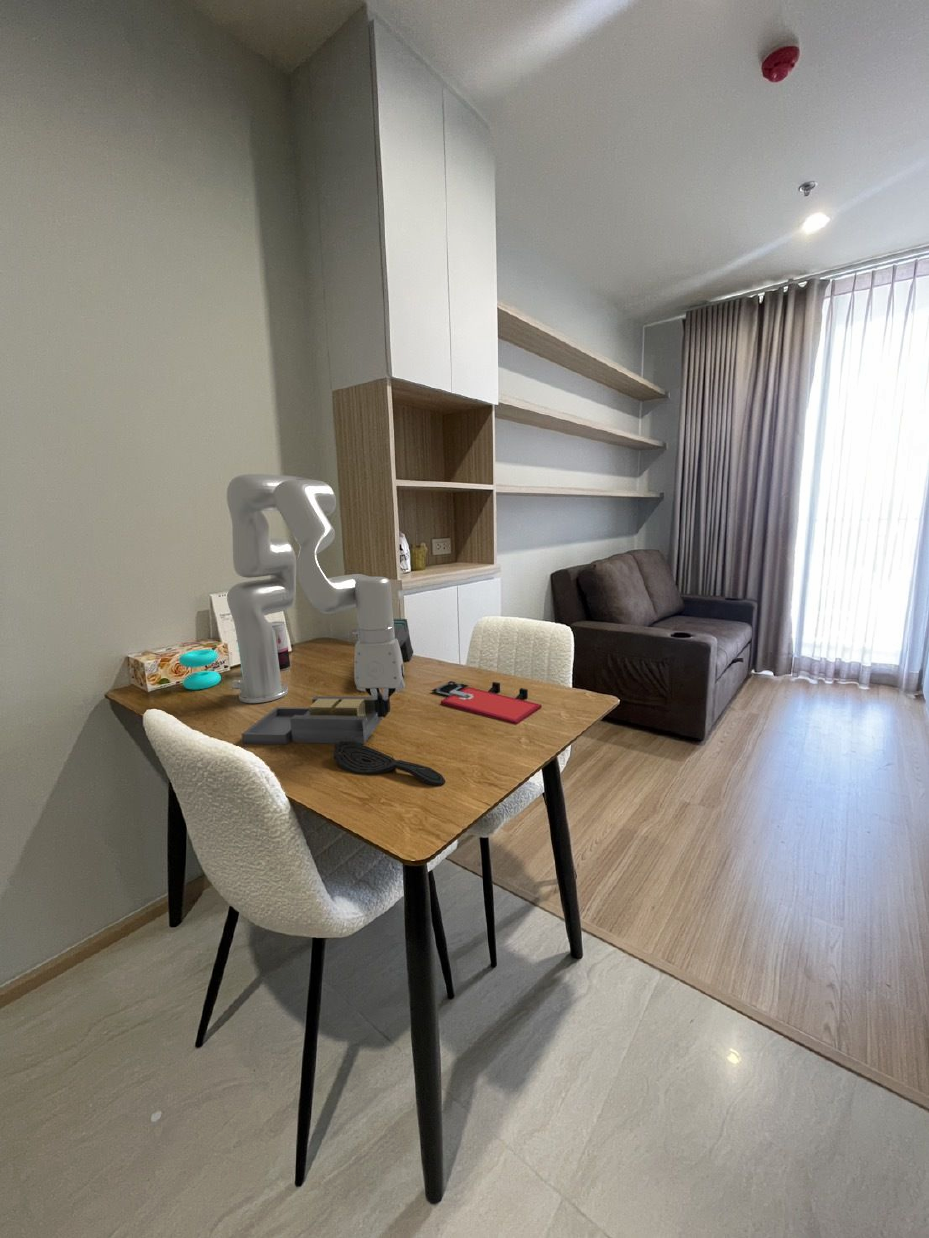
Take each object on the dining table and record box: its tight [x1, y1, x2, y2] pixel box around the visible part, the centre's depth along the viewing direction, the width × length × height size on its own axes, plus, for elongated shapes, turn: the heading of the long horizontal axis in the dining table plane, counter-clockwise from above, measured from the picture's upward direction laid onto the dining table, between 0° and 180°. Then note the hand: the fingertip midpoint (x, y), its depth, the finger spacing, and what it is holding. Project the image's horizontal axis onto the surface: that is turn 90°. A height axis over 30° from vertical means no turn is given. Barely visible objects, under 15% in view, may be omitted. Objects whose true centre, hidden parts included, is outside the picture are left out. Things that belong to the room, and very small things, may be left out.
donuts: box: [178, 649, 222, 691], centre depth 146 cm, size 10×10×10 cm
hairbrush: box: [333, 738, 446, 787], centre depth 93 cm, size 8×4×25 cm
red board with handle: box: [431, 680, 543, 725], centre depth 125 cm, size 30×3×15 cm
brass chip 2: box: [335, 699, 366, 716], centre depth 110 cm, size 5×5×4 cm
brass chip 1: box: [308, 699, 339, 716], centre depth 111 cm, size 5×5×4 cm
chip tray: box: [241, 706, 309, 745], centre depth 113 cm, size 10×15×2 cm, turn 173°
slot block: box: [290, 695, 383, 745], centre depth 111 cm, size 16×13×6 cm
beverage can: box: [269, 621, 291, 672], centre depth 158 cm, size 6×7×15 cm
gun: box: [393, 618, 414, 662], centre depth 152 cm, size 7×29×15 cm, turn 169°
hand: (383, 714), depth 109 cm, fingers closed
